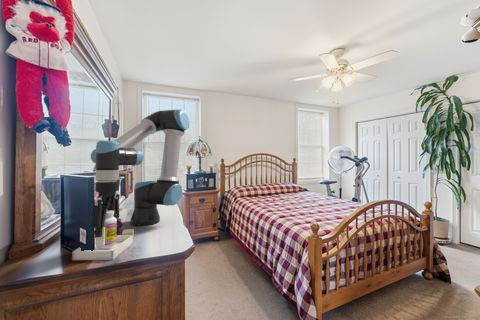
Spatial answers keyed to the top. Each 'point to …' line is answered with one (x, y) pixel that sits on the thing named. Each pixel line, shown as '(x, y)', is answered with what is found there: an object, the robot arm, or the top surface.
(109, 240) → the supplement bottle
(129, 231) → the maple block
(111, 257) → the tray
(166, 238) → the top surface
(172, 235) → the top surface
